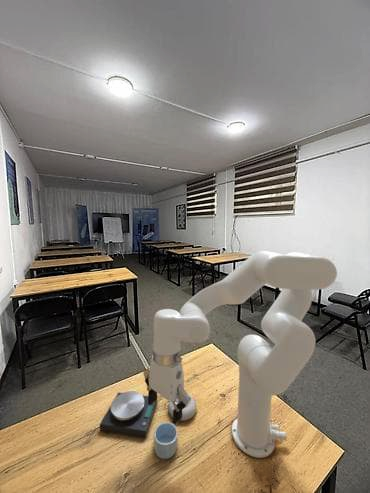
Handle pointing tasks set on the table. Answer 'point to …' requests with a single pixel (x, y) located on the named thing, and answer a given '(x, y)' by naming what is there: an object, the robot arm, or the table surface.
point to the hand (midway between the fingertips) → (164, 410)
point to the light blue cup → (165, 440)
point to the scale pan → (127, 405)
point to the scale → (130, 422)
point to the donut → (187, 411)
